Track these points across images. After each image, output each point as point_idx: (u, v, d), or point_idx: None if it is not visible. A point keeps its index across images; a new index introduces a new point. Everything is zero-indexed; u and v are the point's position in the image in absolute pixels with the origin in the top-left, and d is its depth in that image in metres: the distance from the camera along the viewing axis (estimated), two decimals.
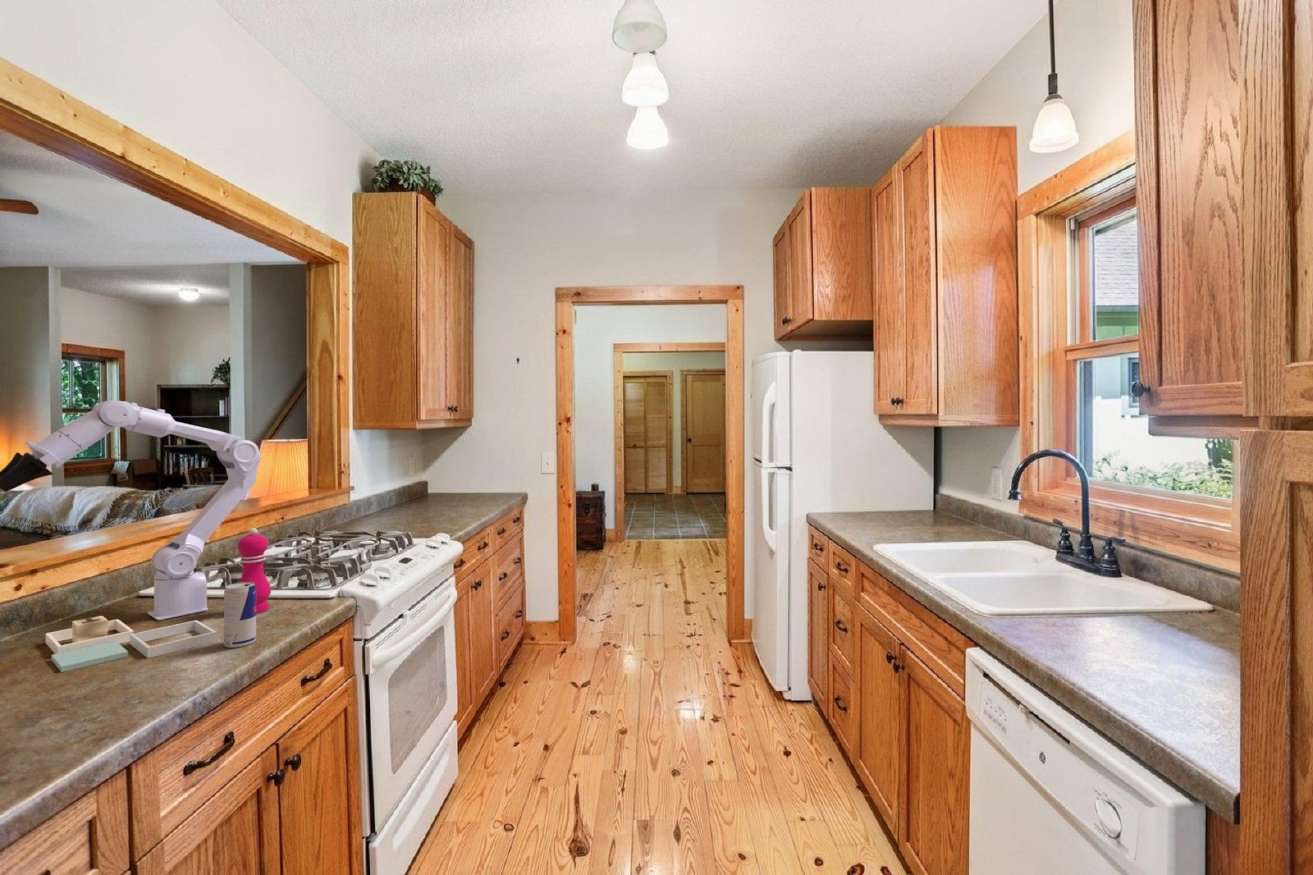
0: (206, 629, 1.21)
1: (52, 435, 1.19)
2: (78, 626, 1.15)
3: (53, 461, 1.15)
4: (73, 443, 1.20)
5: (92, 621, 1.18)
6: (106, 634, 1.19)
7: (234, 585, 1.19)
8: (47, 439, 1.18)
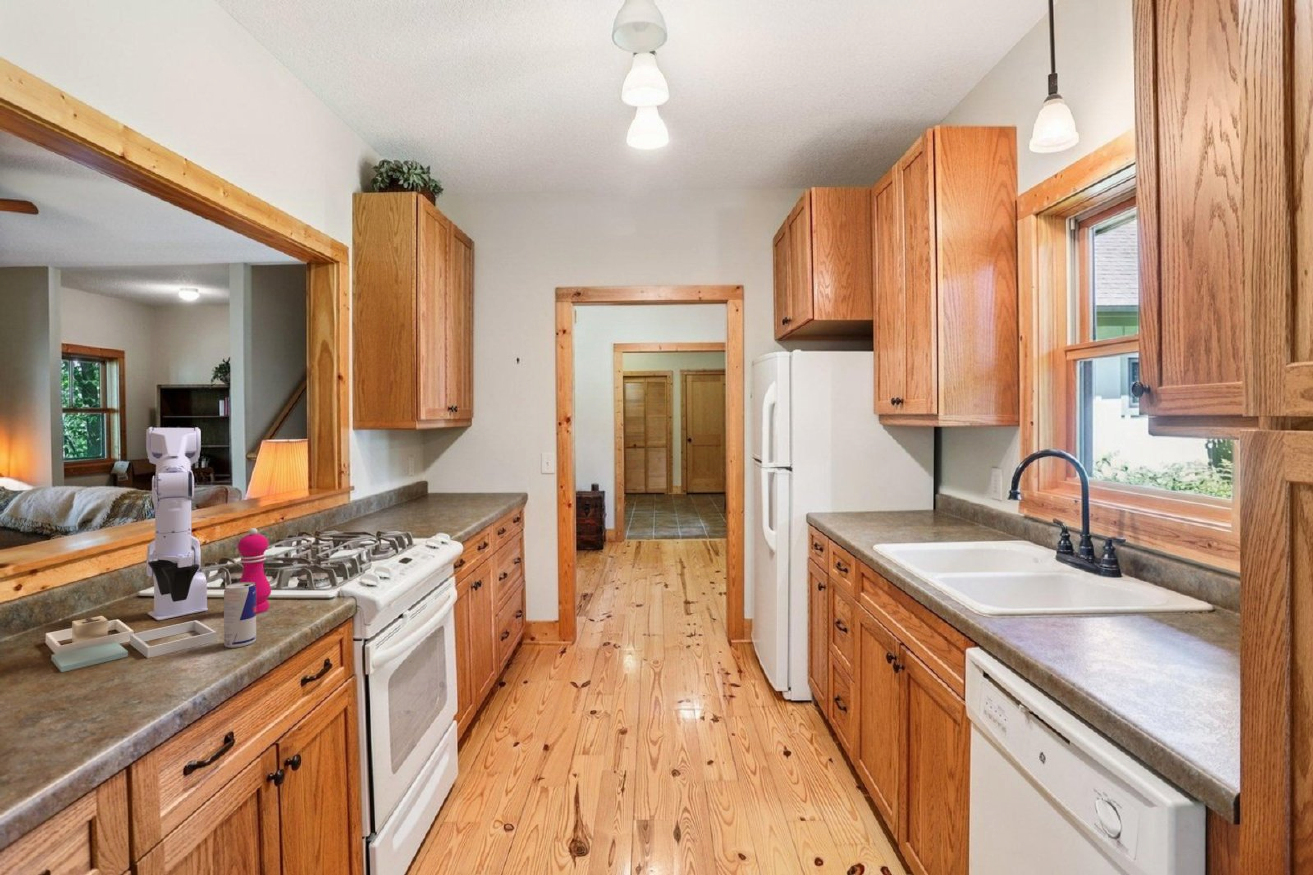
0: (206, 629, 1.21)
1: (158, 539, 1.15)
2: (78, 626, 1.15)
3: (189, 560, 1.14)
4: (180, 533, 1.17)
5: (92, 621, 1.18)
6: (106, 634, 1.19)
7: (234, 585, 1.19)
8: (159, 545, 1.15)
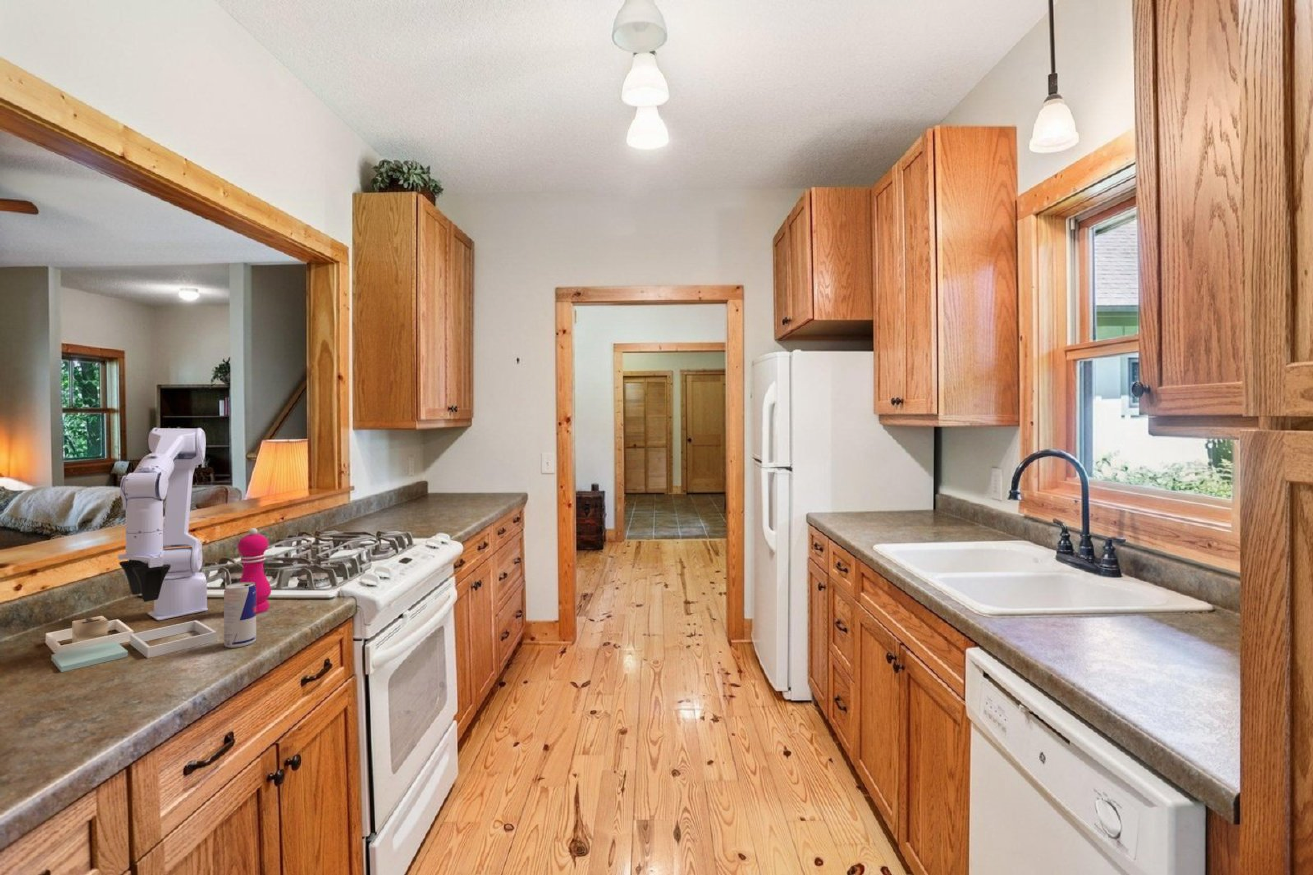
0: (206, 629, 1.21)
1: (128, 539, 1.15)
2: (78, 626, 1.15)
3: (160, 560, 1.15)
4: (151, 533, 1.17)
5: (92, 621, 1.18)
6: (106, 634, 1.19)
7: (234, 585, 1.19)
8: (130, 545, 1.15)
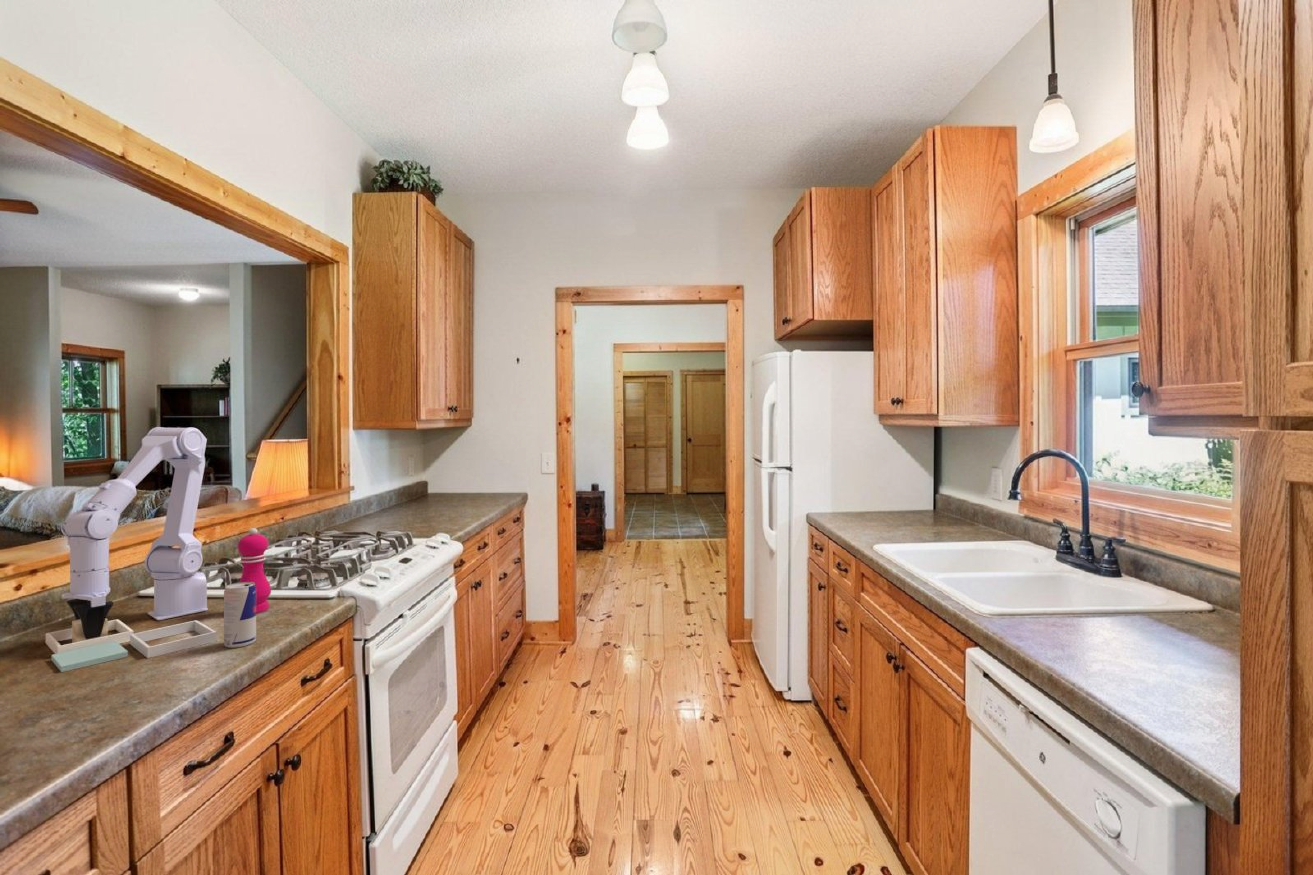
0: (206, 629, 1.21)
1: (72, 578, 1.15)
2: (78, 626, 1.15)
3: (103, 599, 1.15)
4: (96, 571, 1.17)
5: None
6: (106, 634, 1.19)
7: (234, 585, 1.19)
8: (73, 584, 1.15)
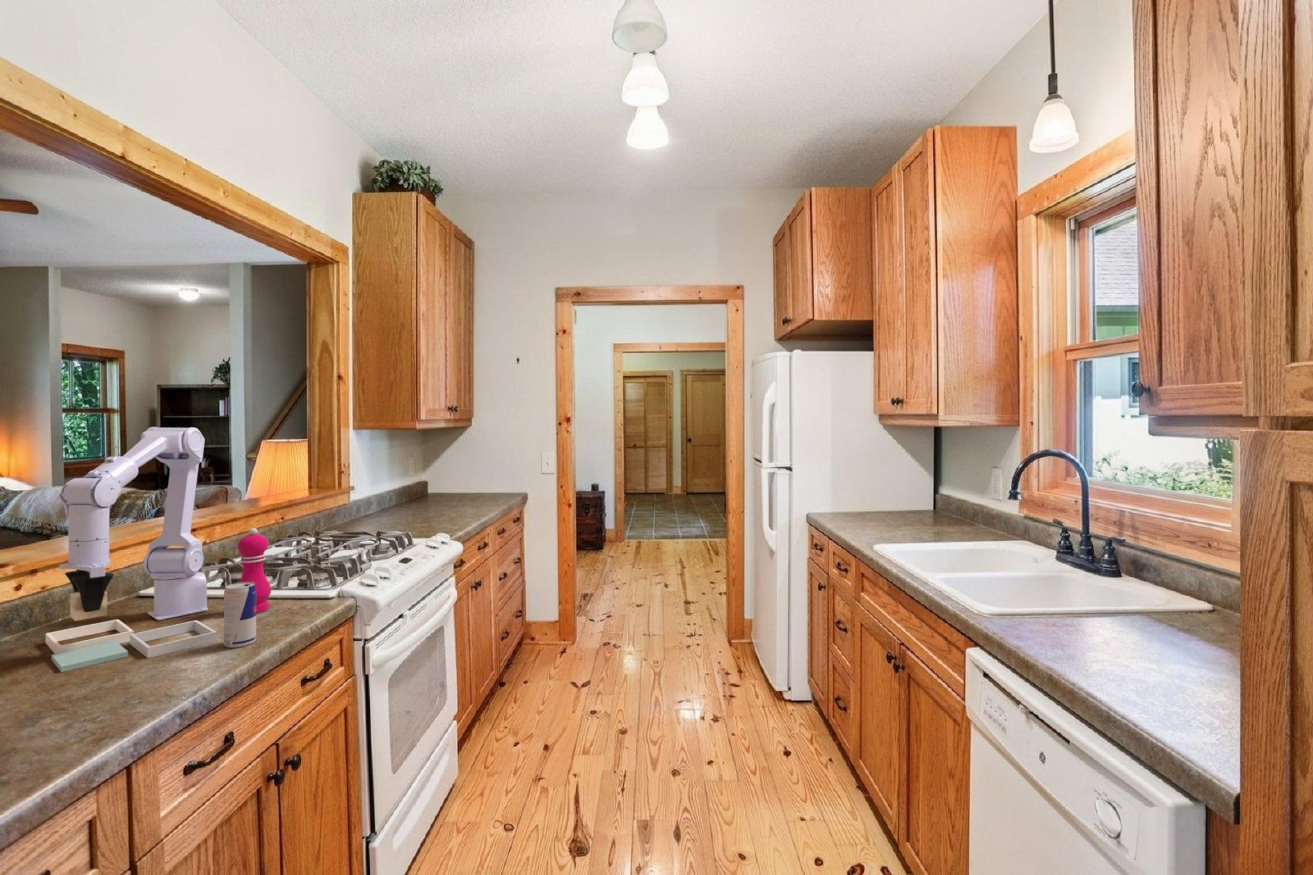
0: (206, 629, 1.21)
1: (71, 548, 1.10)
2: (76, 598, 1.10)
3: (103, 570, 1.09)
4: (95, 541, 1.12)
5: None
6: (105, 607, 1.13)
7: (234, 585, 1.19)
8: (72, 554, 1.10)
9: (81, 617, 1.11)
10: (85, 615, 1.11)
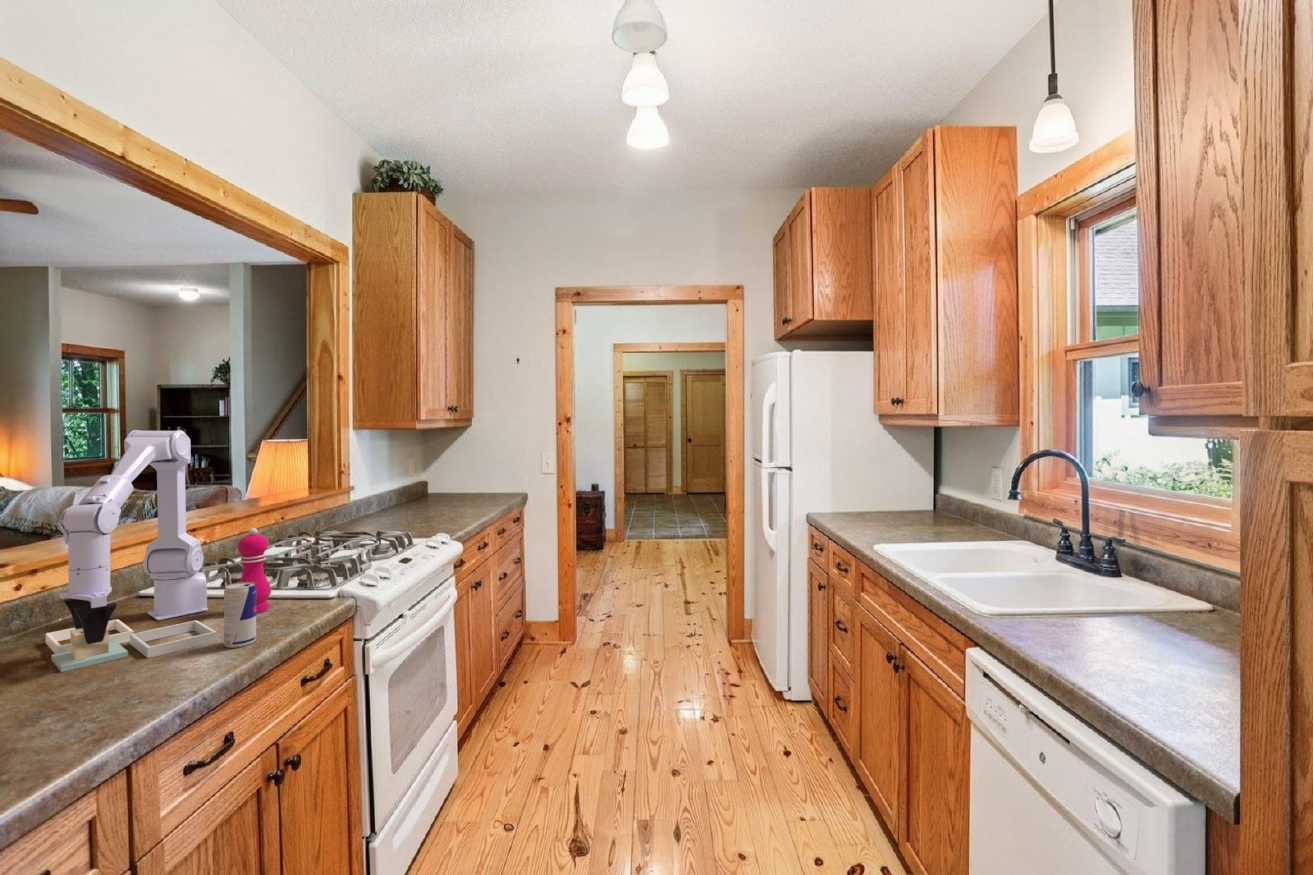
0: (206, 629, 1.21)
1: (71, 577, 1.07)
2: (77, 636, 1.07)
3: (104, 600, 1.06)
4: (96, 570, 1.08)
5: None
6: (107, 644, 1.10)
7: (234, 585, 1.19)
8: (72, 583, 1.07)
9: (82, 656, 1.07)
10: (86, 653, 1.08)
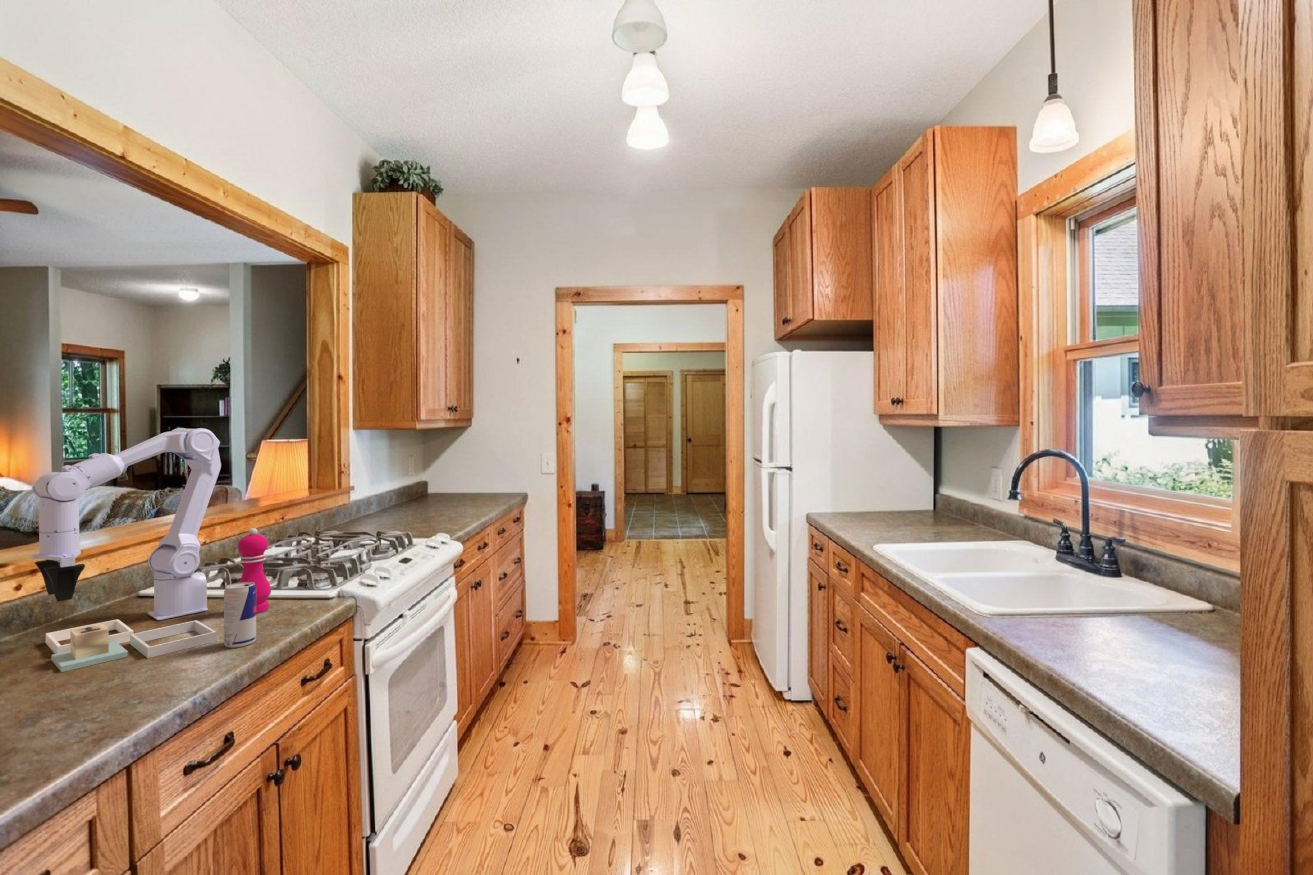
0: (206, 629, 1.21)
1: (41, 539, 1.15)
2: (77, 636, 1.07)
3: (73, 560, 1.15)
4: (65, 533, 1.17)
5: (92, 630, 1.09)
6: (107, 644, 1.10)
7: (234, 585, 1.19)
8: (43, 544, 1.15)
9: (82, 656, 1.07)
10: (86, 653, 1.08)
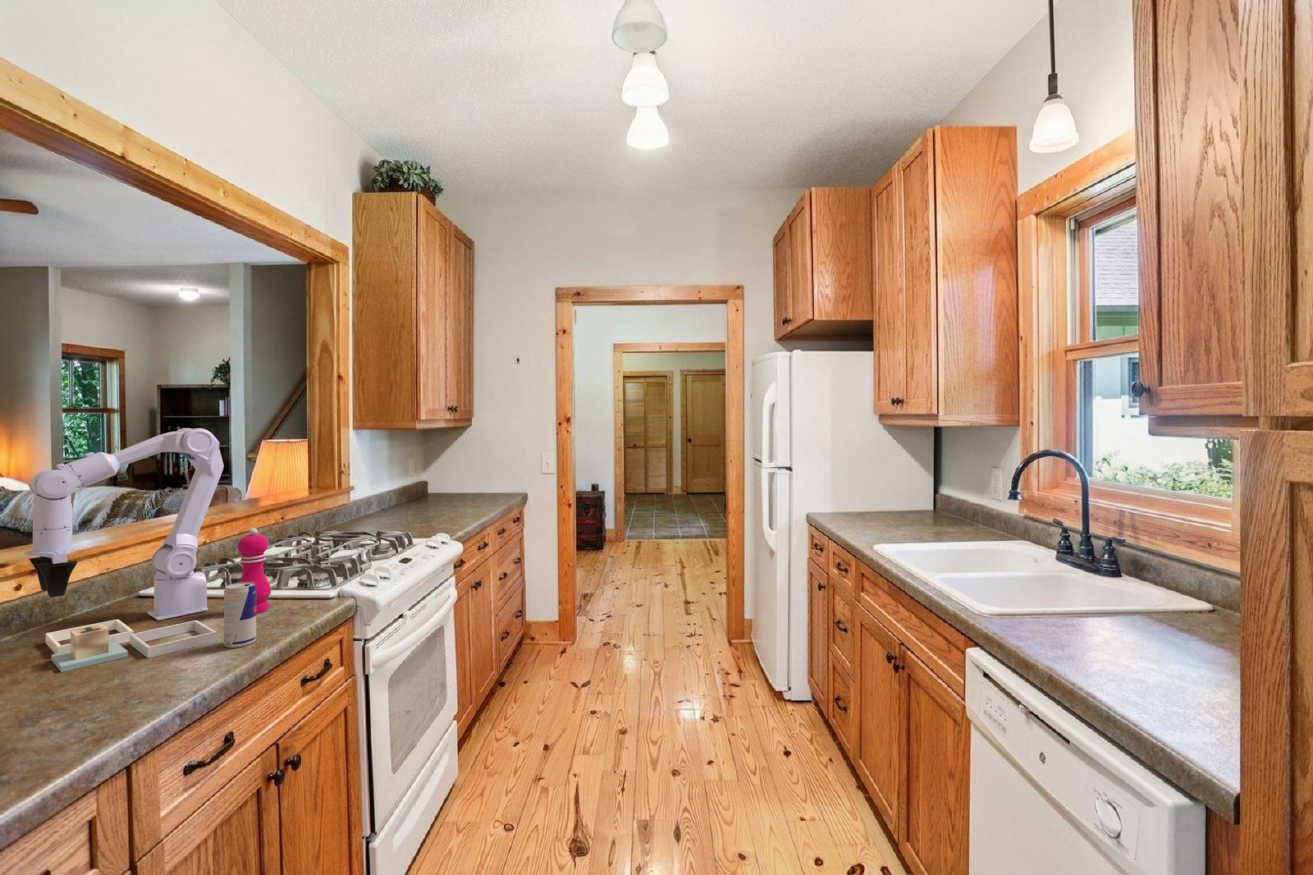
0: (206, 629, 1.21)
1: (35, 536, 1.17)
2: (77, 636, 1.07)
3: (65, 557, 1.16)
4: (58, 530, 1.19)
5: (92, 630, 1.09)
6: (107, 644, 1.10)
7: (234, 585, 1.19)
8: (36, 541, 1.17)
9: (82, 656, 1.07)
10: (86, 653, 1.08)
